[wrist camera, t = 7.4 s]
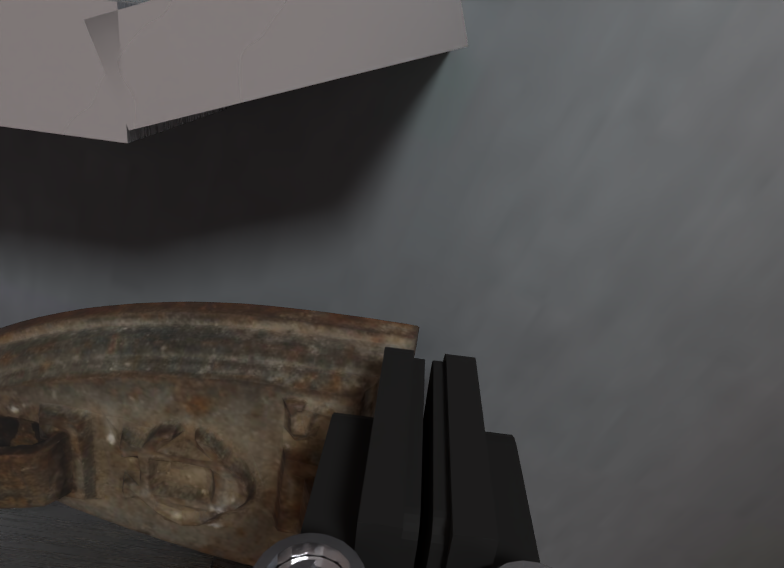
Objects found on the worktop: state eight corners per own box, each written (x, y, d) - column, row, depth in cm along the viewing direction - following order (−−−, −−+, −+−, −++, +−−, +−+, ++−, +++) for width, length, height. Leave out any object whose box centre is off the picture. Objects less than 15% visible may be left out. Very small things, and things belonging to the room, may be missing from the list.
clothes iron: (404, 538, 15) (160, 1239, 6) (62, 406, 17) (-448, 797, 9) (456, 326, 11) (77, 1234, 3) (19, 195, 14) (-890, 506, 5)
